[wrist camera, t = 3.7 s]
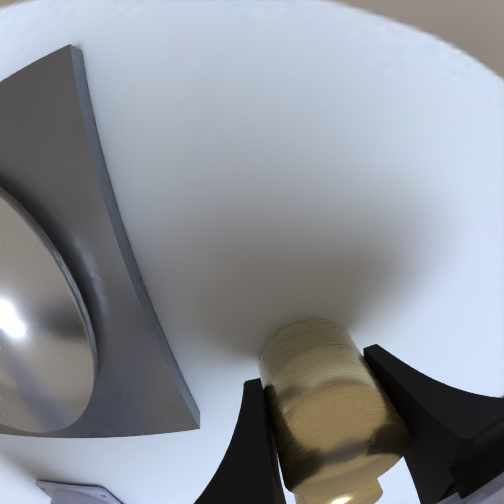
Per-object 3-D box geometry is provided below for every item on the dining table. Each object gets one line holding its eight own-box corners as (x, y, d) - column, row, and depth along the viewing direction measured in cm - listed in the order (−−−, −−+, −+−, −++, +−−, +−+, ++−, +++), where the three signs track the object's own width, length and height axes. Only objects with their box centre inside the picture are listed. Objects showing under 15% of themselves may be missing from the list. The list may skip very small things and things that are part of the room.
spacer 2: (348, 436, 18) (378, 506, 13) (285, 454, 18) (303, 529, 13) (348, 396, 17) (387, 477, 11) (274, 417, 17) (295, 506, 11)
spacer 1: (353, 378, 15) (401, 470, 9) (268, 402, 15) (292, 506, 9) (349, 307, 13) (420, 404, 8) (249, 334, 13) (273, 453, 7)
